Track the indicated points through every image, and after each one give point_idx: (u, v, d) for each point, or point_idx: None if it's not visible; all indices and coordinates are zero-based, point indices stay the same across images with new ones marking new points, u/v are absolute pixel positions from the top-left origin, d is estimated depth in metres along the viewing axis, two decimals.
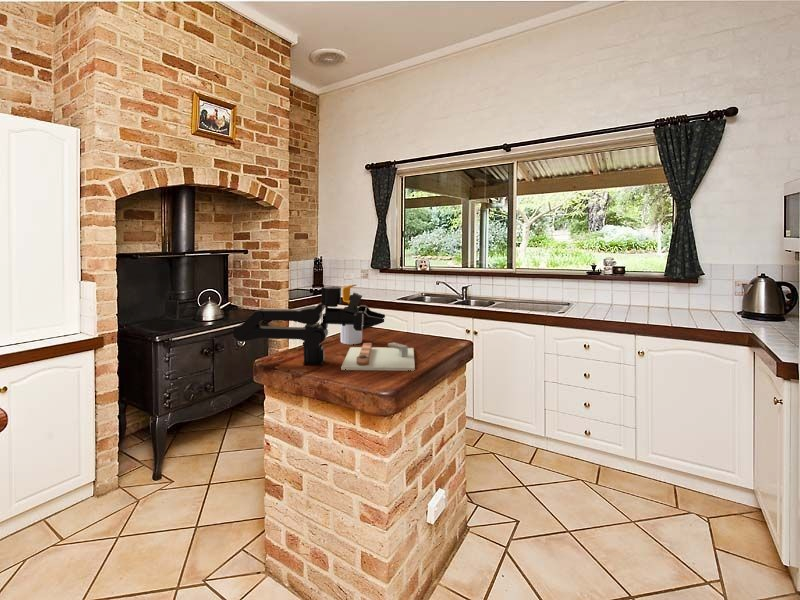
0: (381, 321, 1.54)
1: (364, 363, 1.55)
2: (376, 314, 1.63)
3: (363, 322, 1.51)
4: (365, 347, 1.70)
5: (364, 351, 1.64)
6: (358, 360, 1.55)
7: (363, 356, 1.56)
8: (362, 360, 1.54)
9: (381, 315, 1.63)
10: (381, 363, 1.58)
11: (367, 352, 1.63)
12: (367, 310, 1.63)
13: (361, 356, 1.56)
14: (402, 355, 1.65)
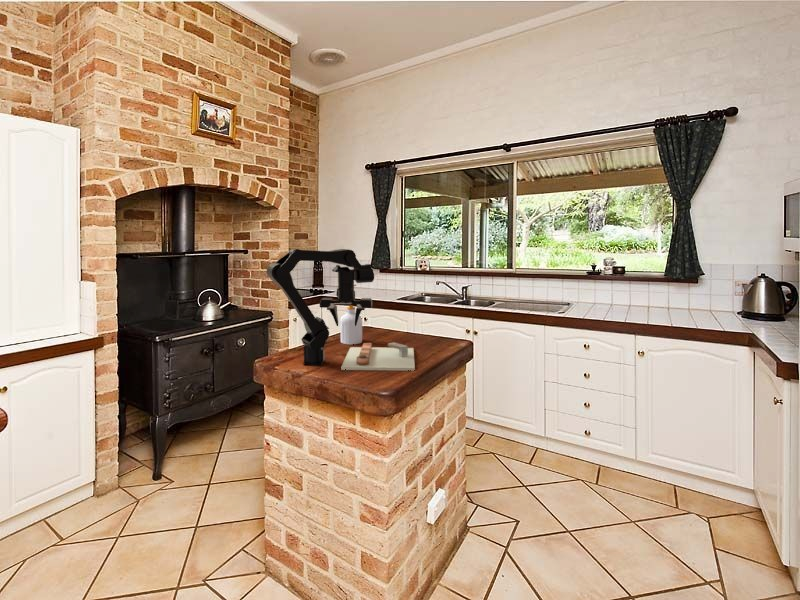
0: (356, 323, 1.66)
1: (364, 363, 1.55)
2: (337, 317, 1.66)
3: (364, 308, 1.64)
4: (365, 347, 1.70)
5: (364, 351, 1.64)
6: (358, 360, 1.55)
7: (363, 356, 1.56)
8: (362, 360, 1.54)
9: None
10: (381, 363, 1.58)
11: (367, 352, 1.63)
12: (336, 307, 1.67)
13: (361, 356, 1.56)
14: (402, 355, 1.65)
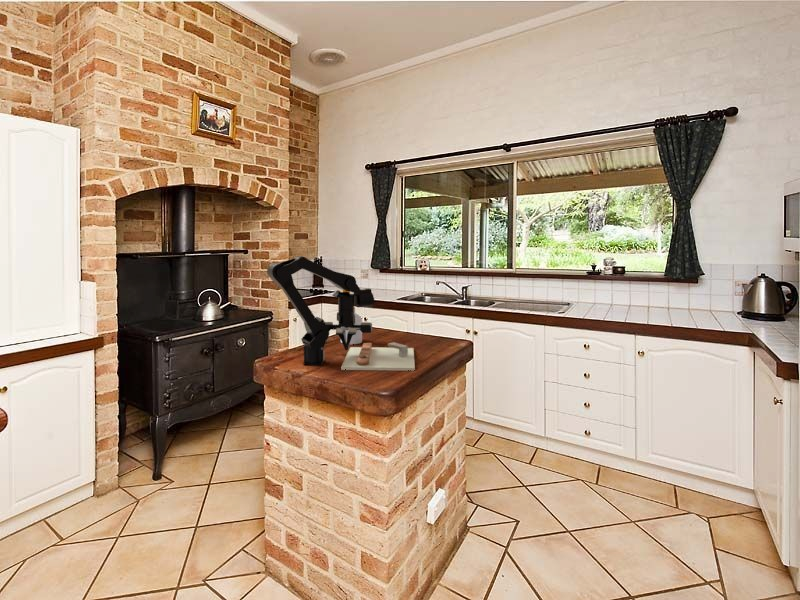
0: None
1: (364, 363, 1.55)
2: None
3: (356, 332, 1.66)
4: (365, 347, 1.70)
5: (364, 351, 1.64)
6: (358, 360, 1.55)
7: (363, 356, 1.56)
8: (362, 360, 1.54)
9: None
10: (381, 363, 1.58)
11: (367, 352, 1.63)
12: (345, 331, 1.68)
13: (361, 356, 1.56)
14: (402, 355, 1.65)
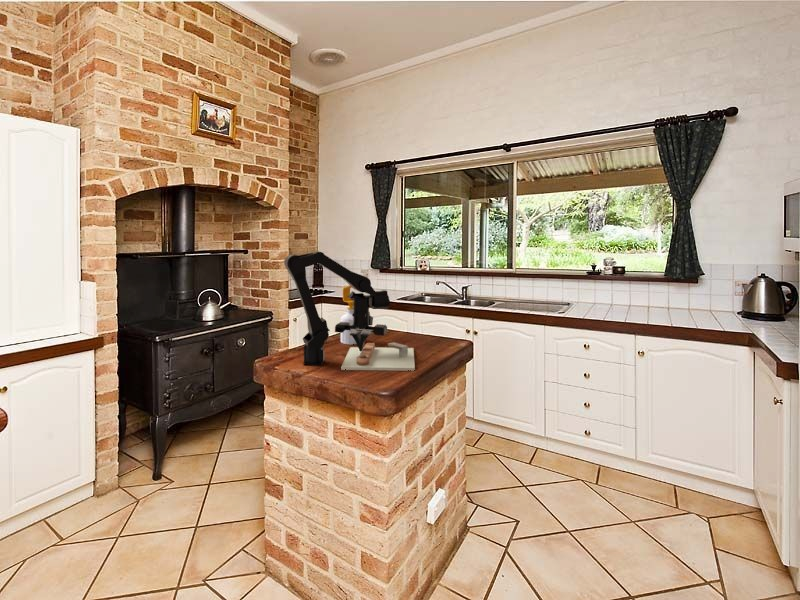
0: (362, 349, 1.67)
1: (364, 363, 1.55)
2: None
3: (369, 334, 1.66)
4: (367, 347, 1.70)
5: (365, 351, 1.64)
6: (358, 360, 1.55)
7: (363, 356, 1.56)
8: (362, 360, 1.54)
9: None
10: (381, 363, 1.58)
11: (368, 352, 1.63)
12: (360, 333, 1.69)
13: (361, 356, 1.56)
14: (402, 355, 1.65)
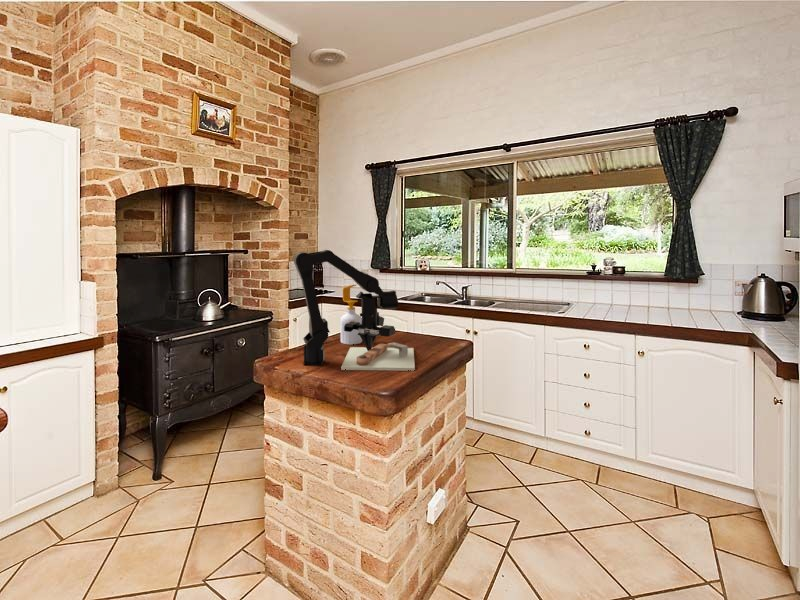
0: None
1: (362, 363, 1.55)
2: None
3: (377, 334, 1.65)
4: (376, 348, 1.69)
5: (371, 351, 1.64)
6: (357, 360, 1.55)
7: (362, 356, 1.56)
8: (360, 360, 1.54)
9: None
10: (381, 363, 1.58)
11: (372, 353, 1.62)
12: (369, 333, 1.69)
13: (361, 356, 1.56)
14: (402, 355, 1.65)
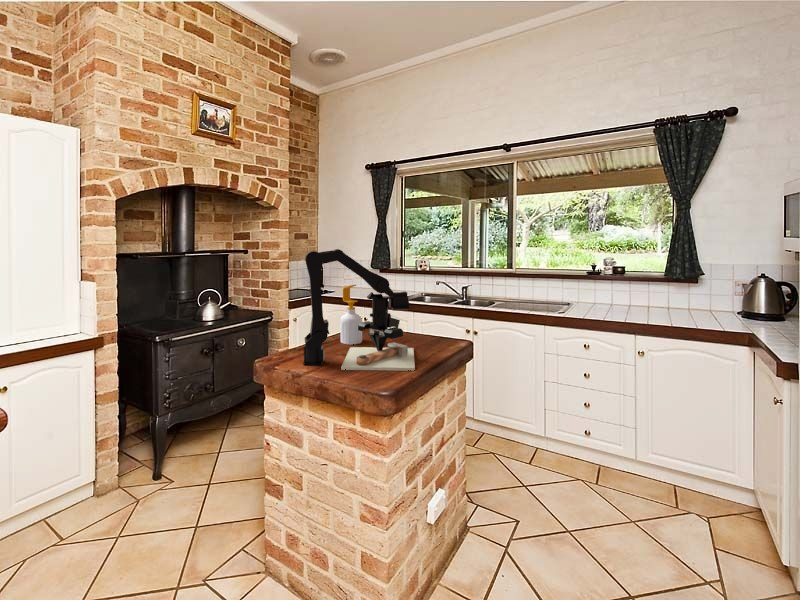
0: (380, 350, 1.66)
1: (360, 363, 1.55)
2: None
3: None
4: (388, 349, 1.67)
5: (377, 352, 1.62)
6: None
7: (362, 356, 1.56)
8: (358, 360, 1.55)
9: None
10: (381, 363, 1.58)
11: (377, 354, 1.61)
12: None
13: (360, 356, 1.56)
14: (402, 355, 1.65)
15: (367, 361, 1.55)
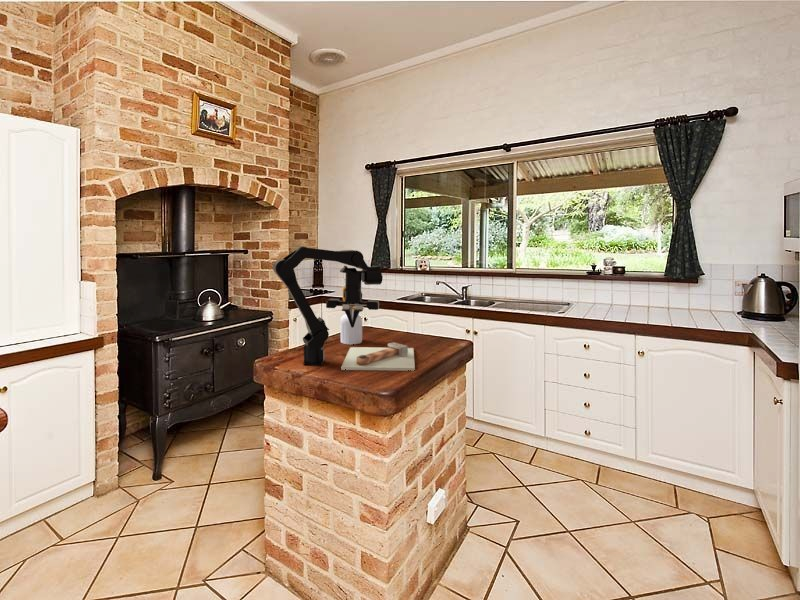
0: None
1: (360, 363, 1.55)
2: (352, 318, 1.65)
3: (362, 309, 1.64)
4: (388, 349, 1.67)
5: (377, 352, 1.62)
6: None
7: (362, 356, 1.56)
8: (358, 360, 1.55)
9: None
10: (381, 363, 1.58)
11: (377, 354, 1.61)
12: (351, 309, 1.66)
13: (360, 356, 1.56)
14: (402, 355, 1.65)
15: (367, 361, 1.55)
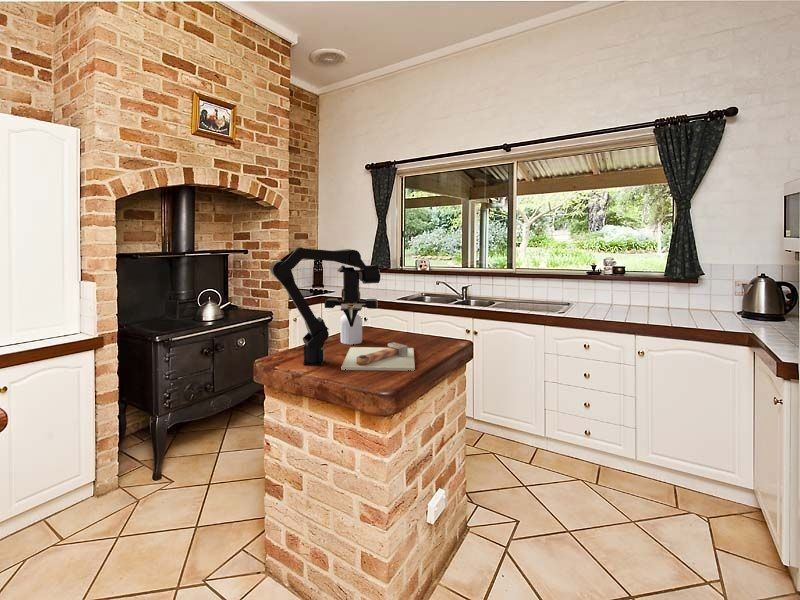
0: None
1: (360, 363, 1.55)
2: None
3: (361, 308, 1.64)
4: (388, 349, 1.67)
5: (377, 352, 1.62)
6: None
7: (362, 356, 1.56)
8: (358, 360, 1.55)
9: None
10: (381, 363, 1.58)
11: (377, 354, 1.61)
12: (350, 308, 1.66)
13: (360, 356, 1.56)
14: (402, 355, 1.65)
15: (367, 361, 1.55)
